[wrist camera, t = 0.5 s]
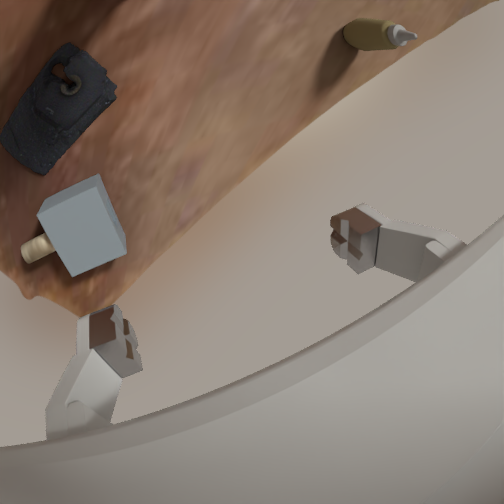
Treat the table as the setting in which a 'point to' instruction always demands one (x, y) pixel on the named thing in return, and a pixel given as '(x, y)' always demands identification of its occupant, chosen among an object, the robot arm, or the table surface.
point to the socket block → (83, 226)
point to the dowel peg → (37, 248)
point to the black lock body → (57, 109)
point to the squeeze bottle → (376, 34)
